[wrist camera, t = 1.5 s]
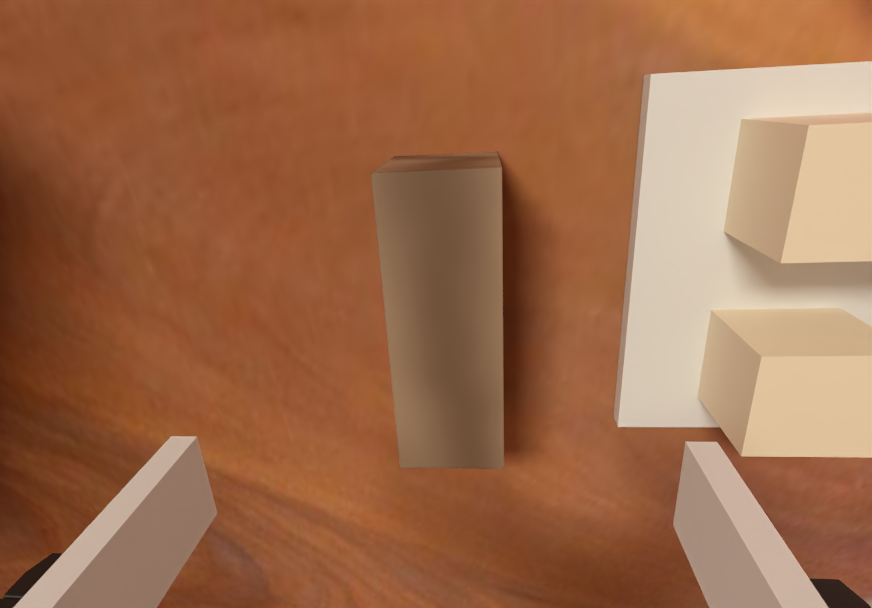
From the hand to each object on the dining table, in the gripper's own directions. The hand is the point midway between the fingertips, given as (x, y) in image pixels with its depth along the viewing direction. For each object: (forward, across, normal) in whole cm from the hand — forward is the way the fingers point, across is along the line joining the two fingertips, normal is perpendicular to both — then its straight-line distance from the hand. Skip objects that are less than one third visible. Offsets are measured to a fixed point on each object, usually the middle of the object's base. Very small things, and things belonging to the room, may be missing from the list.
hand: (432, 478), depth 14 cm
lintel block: (+15, 0, 0) cm, 15 cm away
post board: (+15, +16, +1) cm, 22 cm away
